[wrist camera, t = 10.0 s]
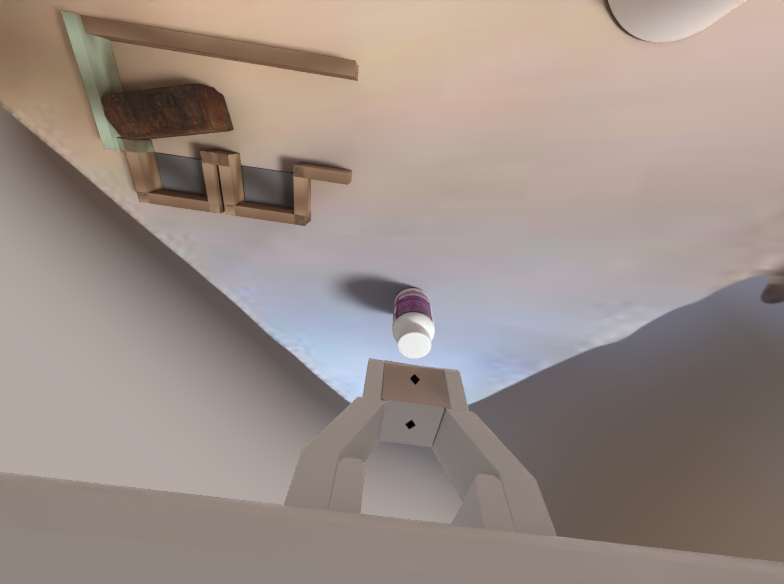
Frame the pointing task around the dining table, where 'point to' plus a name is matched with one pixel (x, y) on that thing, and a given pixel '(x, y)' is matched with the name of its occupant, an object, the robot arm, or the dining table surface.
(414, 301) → the pill bottle
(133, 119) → the brick
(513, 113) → the dining table surface
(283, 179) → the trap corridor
